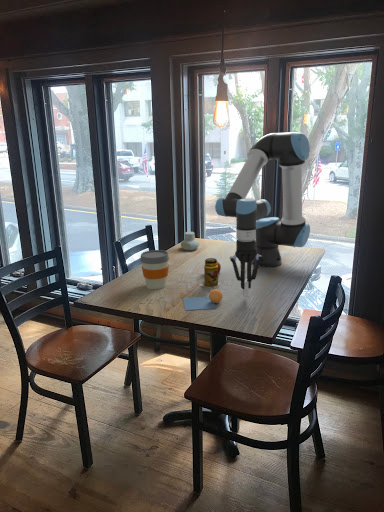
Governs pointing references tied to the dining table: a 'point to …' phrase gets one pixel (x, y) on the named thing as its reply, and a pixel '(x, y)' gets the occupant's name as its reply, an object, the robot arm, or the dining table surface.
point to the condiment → (210, 273)
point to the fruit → (218, 267)
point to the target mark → (198, 303)
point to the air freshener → (189, 242)
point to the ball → (215, 296)
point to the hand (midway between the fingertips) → (245, 295)
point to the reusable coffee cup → (155, 268)
